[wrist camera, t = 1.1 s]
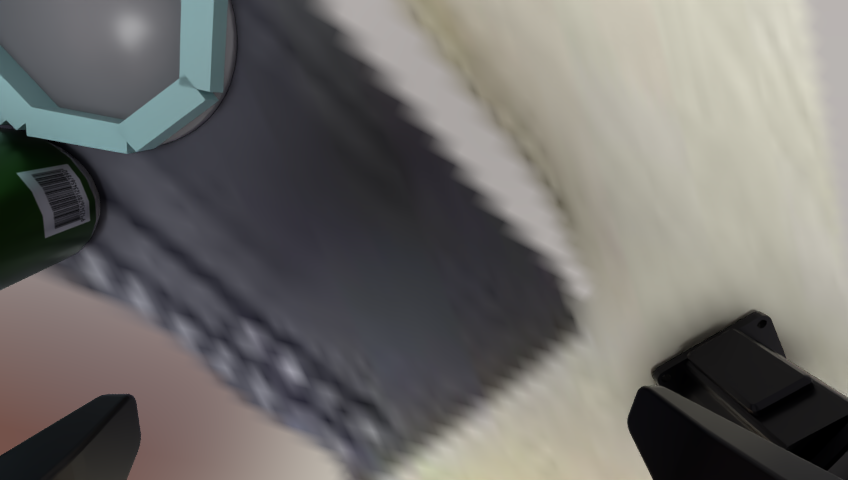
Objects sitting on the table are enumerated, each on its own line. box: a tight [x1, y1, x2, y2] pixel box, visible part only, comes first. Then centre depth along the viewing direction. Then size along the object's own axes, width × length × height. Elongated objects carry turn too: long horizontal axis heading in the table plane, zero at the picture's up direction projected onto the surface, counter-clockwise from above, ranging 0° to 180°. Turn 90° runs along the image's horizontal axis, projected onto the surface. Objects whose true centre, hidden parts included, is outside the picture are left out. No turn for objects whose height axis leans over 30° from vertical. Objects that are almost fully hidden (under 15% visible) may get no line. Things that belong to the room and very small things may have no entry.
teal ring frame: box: [0, 0, 237, 154], centre depth 14 cm, size 9×10×2 cm
